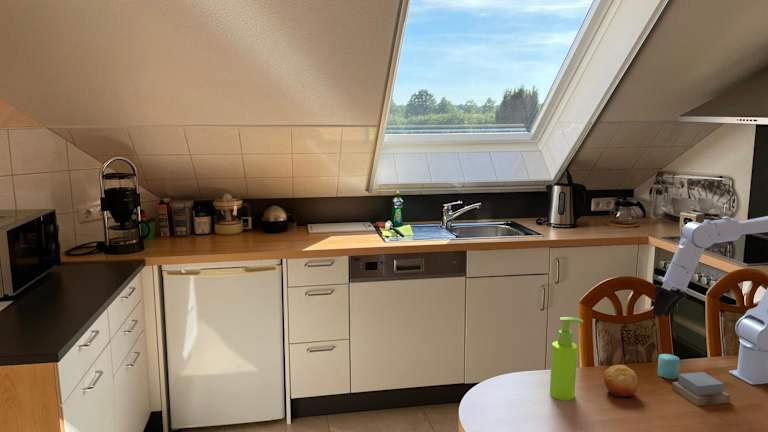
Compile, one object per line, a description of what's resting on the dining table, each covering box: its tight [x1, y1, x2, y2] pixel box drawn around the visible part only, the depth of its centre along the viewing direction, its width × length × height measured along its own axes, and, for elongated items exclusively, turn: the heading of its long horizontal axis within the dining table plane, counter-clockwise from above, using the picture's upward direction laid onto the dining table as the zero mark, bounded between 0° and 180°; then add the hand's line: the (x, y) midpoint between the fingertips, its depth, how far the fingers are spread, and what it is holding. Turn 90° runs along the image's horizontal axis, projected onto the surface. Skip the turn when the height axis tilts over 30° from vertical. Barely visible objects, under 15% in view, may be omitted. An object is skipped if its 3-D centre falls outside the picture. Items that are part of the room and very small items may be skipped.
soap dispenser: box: [549, 316, 584, 401], centre depth 145 cm, size 6×7×20 cm
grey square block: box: [677, 371, 725, 396], centre depth 146 cm, size 7×7×2 cm
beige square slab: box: [671, 381, 731, 407], centre depth 147 cm, size 9×9×2 cm
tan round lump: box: [603, 364, 639, 398], centre depth 148 cm, size 8×8×8 cm
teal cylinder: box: [657, 353, 680, 380], centre depth 158 cm, size 5×5×5 cm
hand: (660, 315), depth 153 cm, fingers open, 7 cm apart
